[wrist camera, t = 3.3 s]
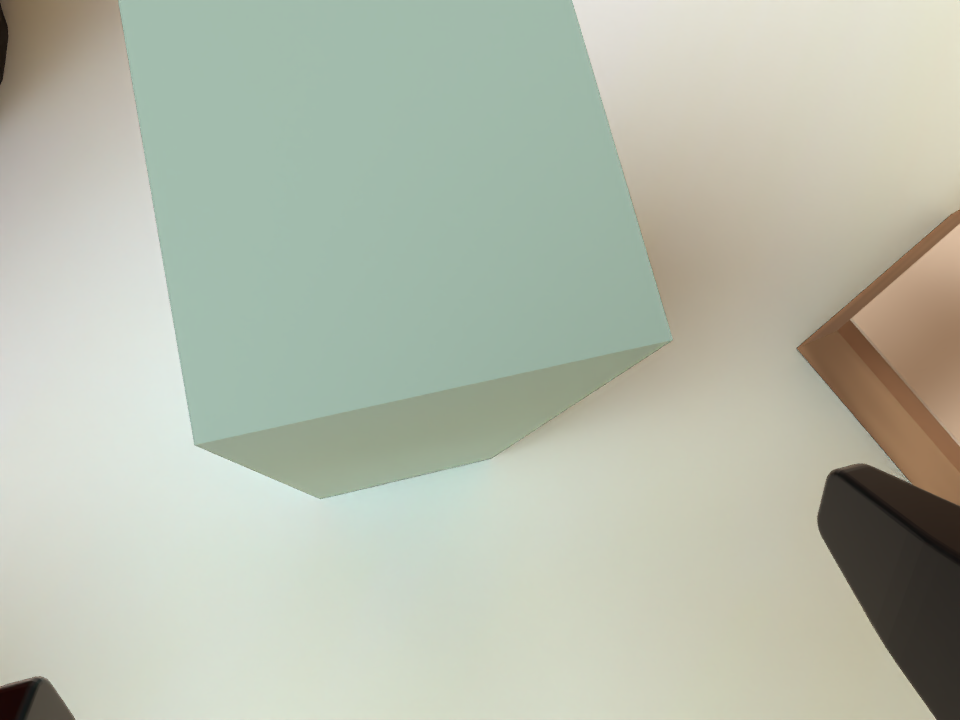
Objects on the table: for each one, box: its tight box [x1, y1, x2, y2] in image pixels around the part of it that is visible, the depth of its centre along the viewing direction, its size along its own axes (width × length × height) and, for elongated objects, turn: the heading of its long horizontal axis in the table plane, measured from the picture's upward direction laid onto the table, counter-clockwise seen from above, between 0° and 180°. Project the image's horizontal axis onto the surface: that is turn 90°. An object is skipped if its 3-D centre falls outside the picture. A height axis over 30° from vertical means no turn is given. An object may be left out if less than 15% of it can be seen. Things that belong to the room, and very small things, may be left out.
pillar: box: [118, 0, 673, 499], centre depth 14 cm, size 4×4×13 cm
